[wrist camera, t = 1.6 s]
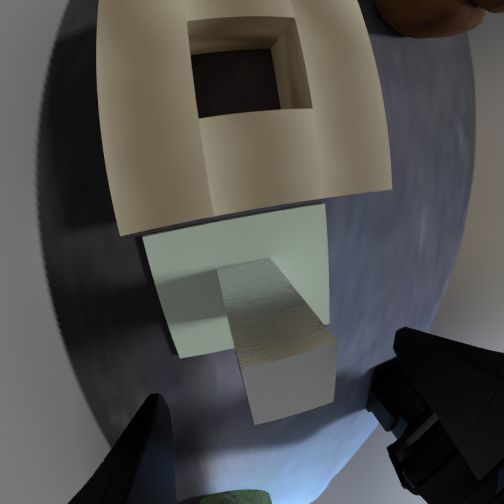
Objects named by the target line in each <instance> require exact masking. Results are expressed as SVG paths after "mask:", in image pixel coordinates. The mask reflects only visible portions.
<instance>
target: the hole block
mask: <svg viewBox="0 0 504 504" xmlns="http://www.w3.org/2000/svg"><path fill="white" fill-rule="evenodd" d="M252 49H271V55H272V60H273V66H274V71H275V77H276V83H277V89H278V95H279V101H280V107H281V110H268V111H256V112H246V113H236V114H228V115H221V116H214V117H207V118H201V119H198V111H197V104H196V97H195V89H194V81H193V73H192V65H191V57H190V55H196V54H204V53H212V52H222V51H234V50H252ZM96 69H97V93H98V107H99V118H100V128H101V136H102V144H103V151H104V158H105V165H106V171H107V176H108V182H109V187H110V193H111V198H112V202H113V207H114V212H115V216H116V220H117V225H118V229H119V233H120V236H123V235H127V234H132V233H136V232H141V231H145V230H150V229H154V228H159V227H164V226H168V225H173V224H178V223H183V222H188V221H193V220H198V219H203V218H208V217H213V216H219V215H224V214H229V213H235V212H240V211H246V210H252V209H258V208H264V207H270V206H276V205H282V204H288V203H294V202H301V201H308V200H314V199H321V198H328V197H335V196H343V195H350V194H358V193H366V192H374V191H383V190H392V175H391V161H390V150H389V140H388V131H387V123H386V116H385V110H384V103H383V97H382V92H381V86H380V81H379V76H378V72H377V67H376V63H375V59H374V54H373V50H372V47H371V43H370V39H369V36H368V32H367V29H366V25H365V22H364V19H363V16H362V13H361V10H360V7H359V4H358V1H357V0H99V6H98V19H97V41H96Z"/></svg>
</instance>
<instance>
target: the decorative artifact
mask: <svg viewBox="0 0 504 504" xmlns="http://www.w3.org/2000/svg"><path fill="white" fill-rule="evenodd" d="M200 504H272V501H271V498H270V495H269V493H268V492H266V491H262V490H234V491H227V492H221V493H216V494H212V495H209V496H206V497H204V498H203V499H201V500H200Z"/></svg>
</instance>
